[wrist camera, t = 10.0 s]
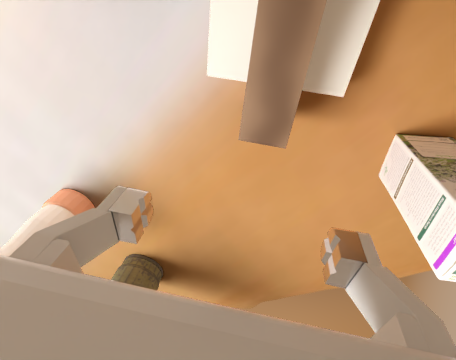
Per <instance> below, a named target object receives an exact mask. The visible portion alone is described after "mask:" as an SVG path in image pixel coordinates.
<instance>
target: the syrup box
mask: <svg viewBox="0 0 456 360" xmlns="http://www.w3.org/2000/svg"><path fill="white" fill-rule="evenodd" d="M379 177H380V179H381V181H382V182H383V184H384V185H385V187H386V189H387V190H388V192H389V194H390V196H391V197H392V199H393V201H394V202H395V204H396V206H397V208H398V210H399V211H400V213H401V215H402V217H403V218H404V220H405V222H406V224H407V225H408V227H409V229H410V231H411V233H412V234H413V236H414V238H415V240H416V242H417V243H418V245H419V247H420V249H421V250H422V252H423V254H424V256H425V258H426V259H427V261H428V263H429V264H430V266H431V268H432V270H433V271H434V273H435V274H436V276H437V278H438V279H440V280H446V281H454V282H456V140H455V139H453V138H451V137H434V136H417V135H402V134H396V135H395V137H394V139H393V141H392V144H391V146H390V148H389V151H388V153H387V155H386V158H385V160H384V163H383V165H382V168H381V170H380V173H379Z"/></svg>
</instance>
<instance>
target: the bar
mask: <svg viewBox="0 0 456 360" xmlns="http://www.w3.org/2000/svg"><path fill="white" fill-rule="evenodd" d="M326 2H327V0H258V6H257V13H256V20H255V27H254V34H253V41H252V48H251V56H250V63H249V70H248V77H247V84H246V91H245V98H244V105H243V112H242V119H241V126H240V133H239V140H241V141H246V142H252V143H257V144H263V145H269V146H274V147H280V148H285V149H286V146H287V143H288V139H289V135H290V132H291V128H292V125H293V121H294V117H295V114H296V110H297V107H298V103H299V99H300V96H301V92H302V89H303V85H304V81H305V78H306V74H307V70H308V67H309V63H310V60H311V56H312V52H313V49H314V45H315V42H316V38H317V34H318V31H319V27H320V24H321V20H322V16H323V13H324V9H325V6H326Z"/></svg>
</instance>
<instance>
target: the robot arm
mask: <svg viewBox="0 0 456 360" xmlns="http://www.w3.org/2000/svg"><path fill="white" fill-rule="evenodd" d="M151 199H152V197H151V193H150V192H147V191H142V190H137V189H133V188H127V187H123V186H117V187H115V188H114V189H113V190H112V192H111V193H110V194H109V195H108V196H107V197H106V198H105V199H104V200H103V201H102V203H101V204H100V205H99V206H98V207H97V208H92V209H89V210H87V211H84V212H82V213H80V214H77V215H75V216H73V217H70V218H68V219H66V220H63V221H61V222H58V223H56V224H54V225H51V226H49V227H47V228H44V229H42V230H39V231H37V232H35V233H34V234H33V235H31V236H30V237H29V238H28V239H27V240H26V241H25V242H24V243H23V244H22V245H21V246H20V247H19V248H17V249H16V250H15V251H14V252H13V253H12V254H11V255H10V256H9V257H7V256H3V255H0V360H456V346H455V344H454V342H453V340H452V338H451V336H450V334H449V332H448V330H447V328H446V326H445V324H444V322H443V321H442V320H441V319H440V318H439V317H438V316H437V315H436V314H435V313H434V312H433V311H432V310H431V309H430V308H429V307H428V306H427V305H425V304H424V303H423V302H422V301H421V300H420V299H419V298H418V297H417V296H416V295H415V294H414V293H413V292H412V291H411V290H410V289H409V288H408V287H406V286H405V285H404V284H403V283H402V282H401V281H400V280H399V279H398V278H397V277H396V276H395V275H394V274H393V273H392V272H391V271H390V270H389V269H388V268H386V267H383V266H382V264H381V261H380V259H379V256H378V254H377V251H376V249H375V246H374V244H373V241H372V239H371V236H370V235H369V234H367V233H361V232H355V231H350V230H344V229H339V228H334V227H331V228H330V229H329V231H328V238H327V239H325V240H324V241H323V243H322V246H321V261H322V262H323V263H324V265H325V266H324V268H323V275H324V281H325V284H328V285H332V286H336V287H341V288H345V289H346V291H347V293H348V294H349V296H350V297H351V299H352V300H353V301H354V303H355V304H356V306H357V307H358V309H359V310H360V312H361V313H362V314H363V316H364V317H365V319H366V320H367V322H368V323H369V324H370V326H371V327H372V329H373V330H374V332H375V334H374V335H373V336H372V337H371V338H370V339H369V338H365V337H360V336H356V335H351V334H347V333H342V332H338V331H334V330H329V329H325V328H320V327H316V326H311V325H307V324H303V323H298V322H294V321H289V320H285V319H281V318H276V317H272V316H268V315H263V314H258V313H254V312H250V311H245V310H241V309H237V308H232V307H228V306H223V305H219V304H214V303H210V302H206V301H201V300H197V299H192V298H188V297H184V296H179V295H175V294H170V293H166V292H162V291H157V290H153V289H148V288H144V287H139V286H135V285H131V284H126V283H122V282H117V281H113V280H109V279H104V278H100V277H95V276H91V275H87V274H84V273H83V271H82V269H81V267H82V266H83V265H85V264H86V263H88V262H89V261H91V260H92V259H94V258H95V257H97V256H98V255H100V254H101V253H103V252H104V251H106V250H107V249H109V248H110V247H112V246H113V245H115V244H116V243H117V242H119V241H124V242H129V243H135V244H137V243H138V241H139V240H140V238H141V236H142V235H143V233H144V231H143V228H144V227H146V226H148V225H149V223H150V221H151V218H152V215H153V206H152V205H151V203H150V201H151Z"/></svg>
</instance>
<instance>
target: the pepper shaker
mask: <svg viewBox="0 0 456 360" xmlns="http://www.w3.org/2000/svg"><path fill="white" fill-rule="evenodd" d="M92 208H95V207H94V205H93V204H92V202H91V201H90V200H89V199H88V198H87V197H86V196H84V195H83V194H81V193H79V192H77V191H75V190H71V189H62V190H60V191H58V192H57V193H56V194H55V195H53V196H52V197H51V198H50V199H49V200H47V201H46V202H45V203H44V204H43V206H42V209H41V210H39V211H38V212H37V213H35V214H34V215H33V216H32V217H30V218H29V219H28V220H27V221H26V222H25V223H24V224H23V225H22V226H21V227H20V229H19V230H18V231H17V232H16V233H15V234H14V235H13V237H12V238H11V239H10V240H9V241H8V242H7V243H6V244H5V245H4V246H3V247H1V248H0V255H3V256H7V257H9V256H10V255H11V254H12V253H13V252H14V251H15V250H16V249H17V248H19V247H20V246H21V245H22V244H23V243H24V242H25V241H26V240H27V239H28V238H29V237H30V236H31V235H33V234H34V233H35V232H37V231H39V230H42V229H44V228H47V227H49V226H51V225H54V224H56V223H58V222H61V221H63V220H66V219H68V218H70V217H73V216H75V215H77V214H80V213H82V212H84V211H87V210H89V209H92Z"/></svg>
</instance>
